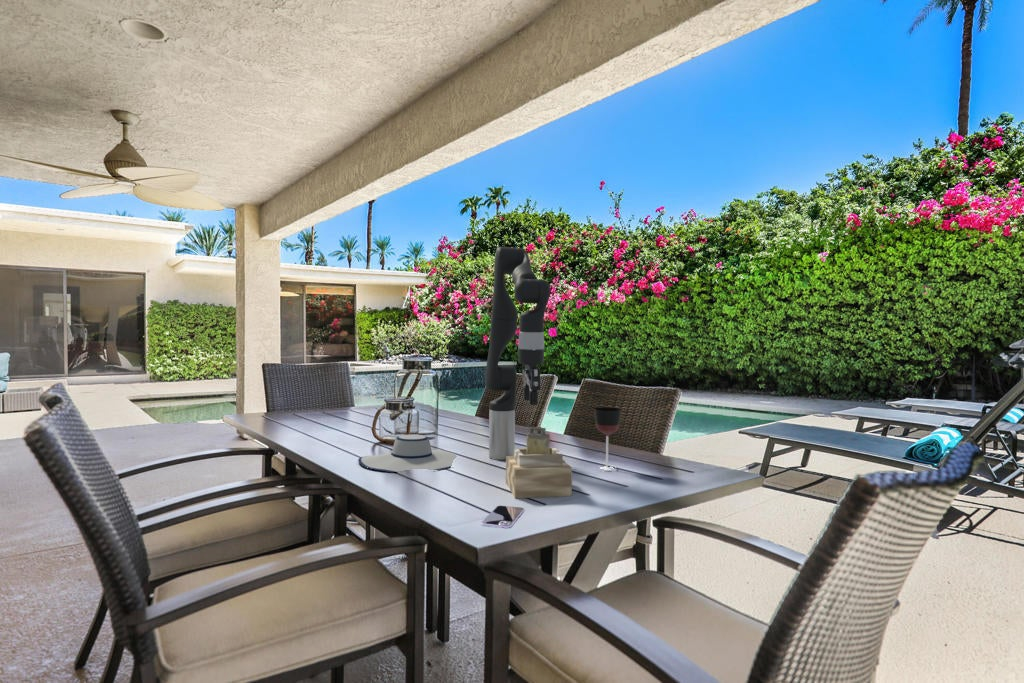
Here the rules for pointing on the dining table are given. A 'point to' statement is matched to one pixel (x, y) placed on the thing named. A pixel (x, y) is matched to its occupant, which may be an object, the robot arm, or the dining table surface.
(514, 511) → the mobile phone
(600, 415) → the wineglass
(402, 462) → the sun hat
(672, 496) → the dining table surface
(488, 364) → the robot arm
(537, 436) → the lighter
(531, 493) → the holder stand
